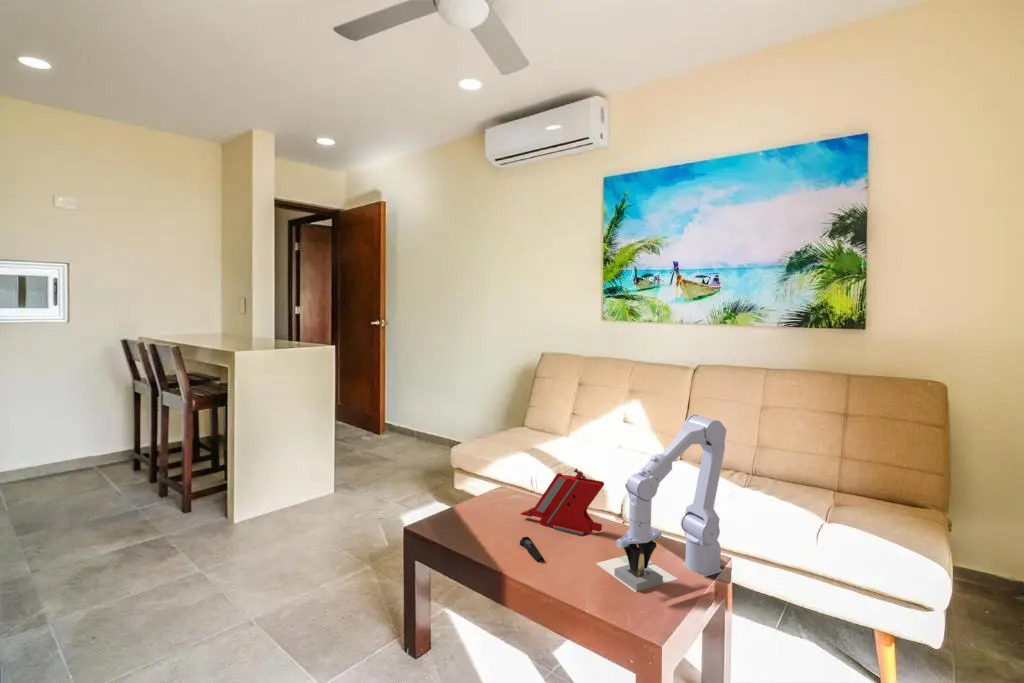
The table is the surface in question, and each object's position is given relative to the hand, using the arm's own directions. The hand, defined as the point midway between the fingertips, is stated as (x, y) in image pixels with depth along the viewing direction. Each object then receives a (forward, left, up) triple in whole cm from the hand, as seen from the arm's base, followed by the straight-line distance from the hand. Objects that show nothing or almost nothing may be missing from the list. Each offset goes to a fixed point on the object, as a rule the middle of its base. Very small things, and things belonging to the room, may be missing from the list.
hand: (638, 568), depth 142 cm
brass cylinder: (0, 0, -2) cm, 2 cm away
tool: (-1, -40, -4) cm, 40 cm away
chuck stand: (-3, -4, -4) cm, 6 cm away
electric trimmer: (+17, -28, -5) cm, 33 cm away
